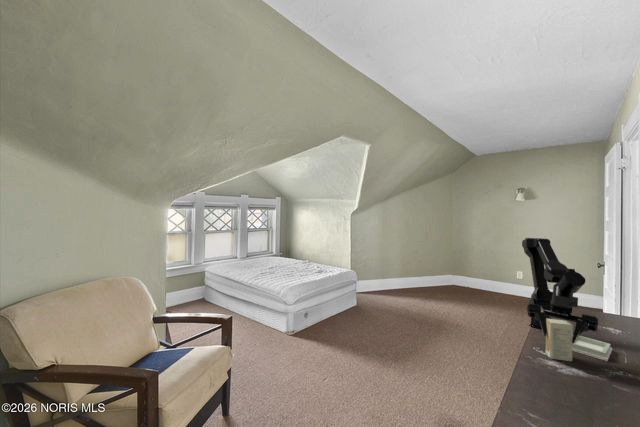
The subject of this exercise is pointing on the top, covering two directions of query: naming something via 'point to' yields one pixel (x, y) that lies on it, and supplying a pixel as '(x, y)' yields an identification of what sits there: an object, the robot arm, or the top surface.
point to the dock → (592, 348)
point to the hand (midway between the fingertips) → (558, 339)
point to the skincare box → (559, 339)
